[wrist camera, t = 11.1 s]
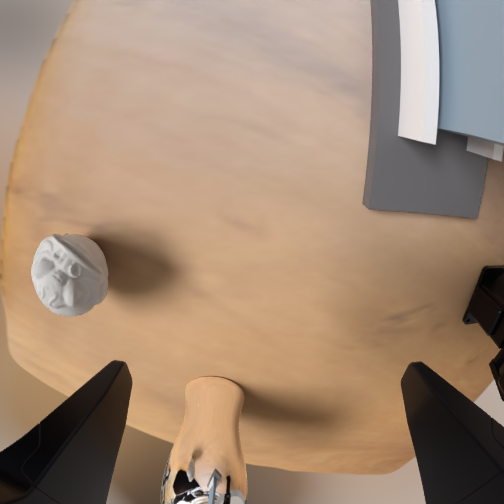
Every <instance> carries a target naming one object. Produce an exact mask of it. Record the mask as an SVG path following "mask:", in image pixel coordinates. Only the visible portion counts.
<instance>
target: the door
mask: <svg viewBox="0 0 504 504" xmlns="http://www.w3.org/2000/svg"><path fill="white" fill-rule="evenodd" d="M435 6H436V16H437V27H438V42H439V108H438V124H437V129H441V130H444V131H448V132H452V133H456V134H460V135H463V136H468V137H472V138H476V139H480V140H483V141H487V142H491V143H494V144H498V145H501V146H504V0H435Z"/></svg>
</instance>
